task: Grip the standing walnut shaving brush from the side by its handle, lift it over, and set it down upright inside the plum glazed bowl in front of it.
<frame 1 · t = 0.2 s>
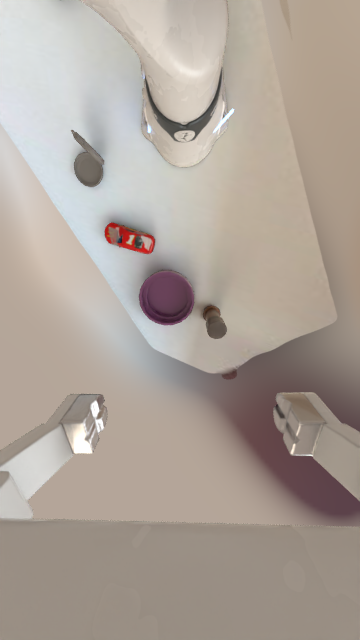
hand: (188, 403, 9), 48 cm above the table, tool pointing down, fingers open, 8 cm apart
pocket watch: (93, 167, 45), on the table
race car: (131, 238, 51), on the table
bowl: (168, 295, 56), on the table
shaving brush: (211, 313, 58), on the table
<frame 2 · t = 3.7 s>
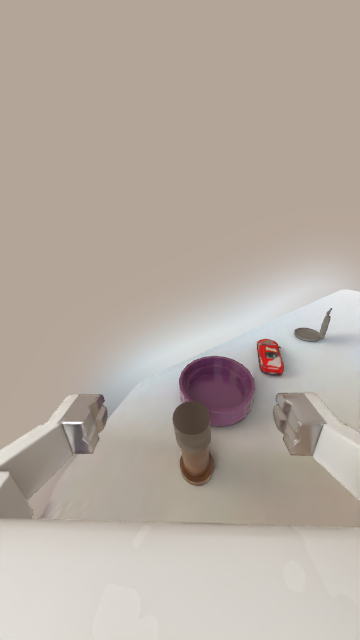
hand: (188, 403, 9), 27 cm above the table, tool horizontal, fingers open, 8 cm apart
pocket watch: (310, 338, 56), on the table
race car: (268, 360, 50), on the table
bowl: (215, 394, 41), on the table
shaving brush: (196, 465, 30), on the table
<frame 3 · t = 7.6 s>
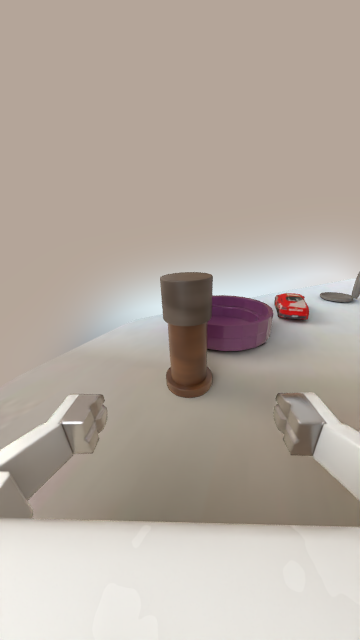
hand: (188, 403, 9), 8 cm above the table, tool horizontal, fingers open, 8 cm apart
pocket watch: (340, 301, 47), on the table
race car: (288, 312, 41), on the table
bowl: (222, 331, 34), on the table
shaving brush: (189, 380, 22), on the table
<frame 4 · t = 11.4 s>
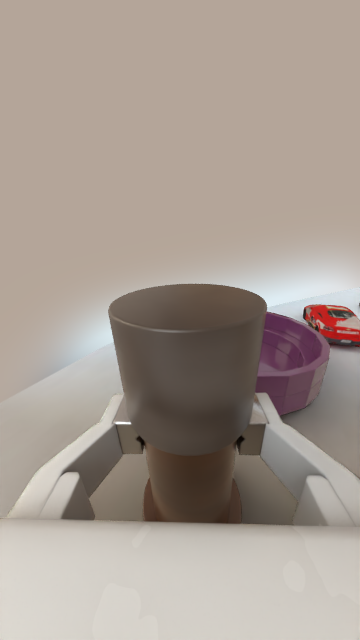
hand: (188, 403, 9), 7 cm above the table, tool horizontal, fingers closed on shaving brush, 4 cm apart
race car: (327, 331, 30), on the table
bowl: (239, 365, 22), on the table
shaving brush: (191, 505, 11), on the table, touching gripper
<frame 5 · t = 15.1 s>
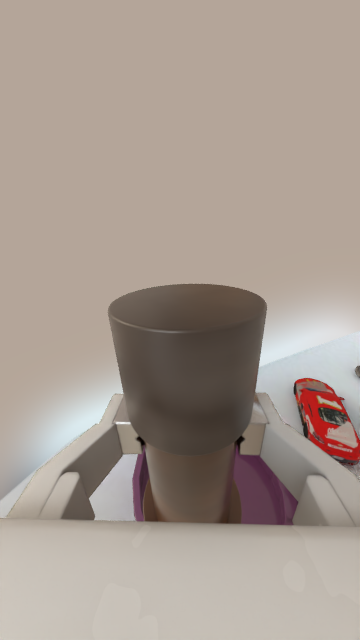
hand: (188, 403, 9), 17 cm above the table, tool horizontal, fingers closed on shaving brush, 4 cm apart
race car: (318, 419, 27), on the table
bowl: (214, 493, 19), on the table
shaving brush: (191, 505, 11), point 10 cm above the table, touching gripper
when the fingers open (7 cm above the table, at t = 19.1 s): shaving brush stays where it is, resting on bowl.
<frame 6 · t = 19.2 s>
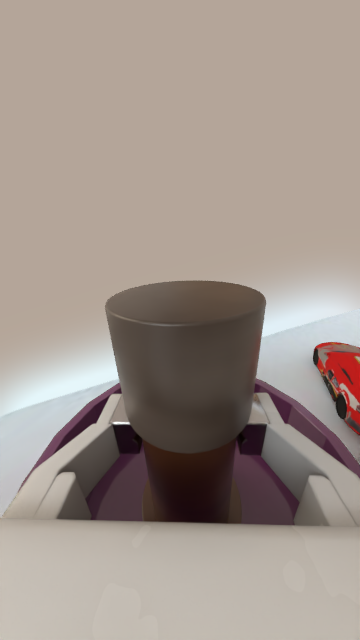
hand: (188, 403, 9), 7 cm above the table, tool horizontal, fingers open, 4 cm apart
race car: (355, 394, 18), on the table
bowl: (193, 509, 11), on the table
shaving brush: (191, 505, 10), point 1 cm above the table, touching bowl
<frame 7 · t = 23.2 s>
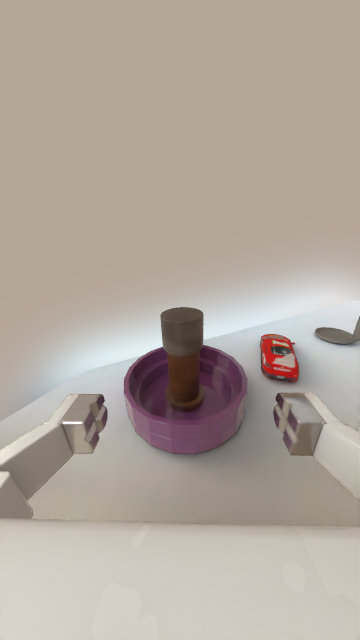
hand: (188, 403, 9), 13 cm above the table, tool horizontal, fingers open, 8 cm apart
pocket watch: (339, 340, 39), on the table
race car: (275, 361, 34), on the table
bowl: (185, 399, 26), on the table
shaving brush: (184, 396, 26), point 1 cm above the table, touching bowl
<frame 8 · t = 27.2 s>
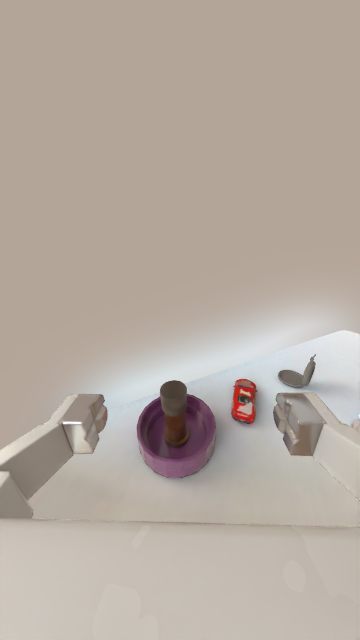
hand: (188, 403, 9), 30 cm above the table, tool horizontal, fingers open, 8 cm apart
pocket watch: (295, 383, 52), on the table
race car: (243, 403, 47), on the table
bowl: (177, 437, 39), on the table
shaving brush: (176, 435, 39), point 1 cm above the table, touching bowl
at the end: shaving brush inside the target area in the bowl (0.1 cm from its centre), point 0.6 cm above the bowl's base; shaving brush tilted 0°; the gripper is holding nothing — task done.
